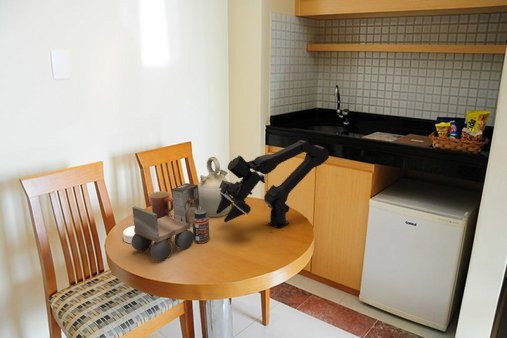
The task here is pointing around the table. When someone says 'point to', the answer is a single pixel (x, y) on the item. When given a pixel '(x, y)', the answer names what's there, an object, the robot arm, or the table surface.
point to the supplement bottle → (200, 227)
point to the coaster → (128, 234)
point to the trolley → (159, 233)
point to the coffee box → (185, 202)
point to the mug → (161, 203)
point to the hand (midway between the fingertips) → (220, 217)
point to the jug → (212, 189)
